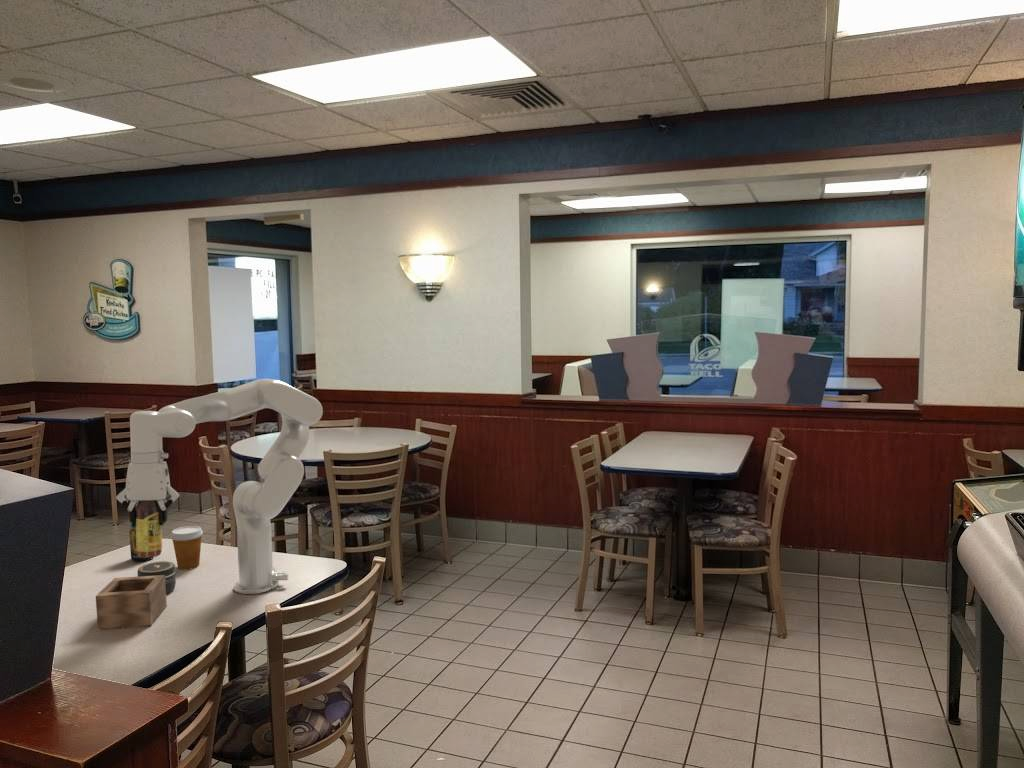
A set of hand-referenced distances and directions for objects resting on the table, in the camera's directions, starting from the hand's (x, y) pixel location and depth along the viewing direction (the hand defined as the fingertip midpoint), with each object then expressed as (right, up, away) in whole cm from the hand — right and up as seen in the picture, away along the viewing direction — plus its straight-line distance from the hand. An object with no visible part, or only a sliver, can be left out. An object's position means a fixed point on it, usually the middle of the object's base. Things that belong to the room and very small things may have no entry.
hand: (148, 523), depth 198 cm
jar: (-7, -24, +19) cm, 31 cm away
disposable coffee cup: (-7, -21, +40) cm, 46 cm away
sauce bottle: (0, -9, +1) cm, 9 cm away
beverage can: (-25, -21, +48) cm, 58 cm away
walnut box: (-4, -25, +1) cm, 26 cm away
